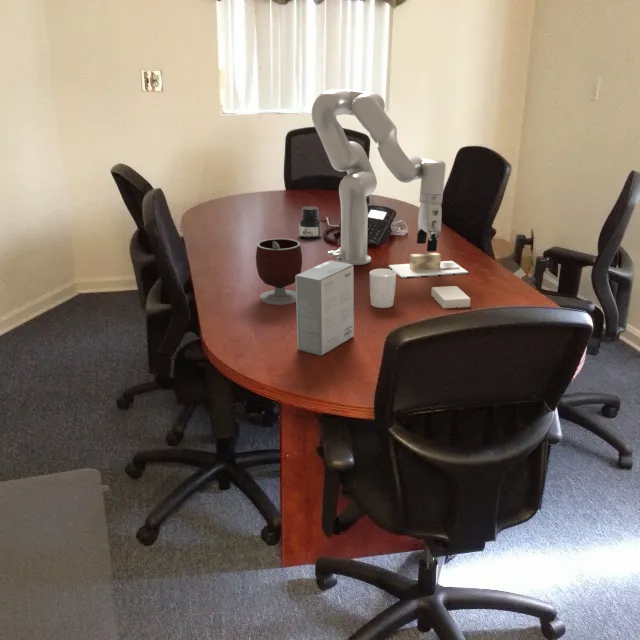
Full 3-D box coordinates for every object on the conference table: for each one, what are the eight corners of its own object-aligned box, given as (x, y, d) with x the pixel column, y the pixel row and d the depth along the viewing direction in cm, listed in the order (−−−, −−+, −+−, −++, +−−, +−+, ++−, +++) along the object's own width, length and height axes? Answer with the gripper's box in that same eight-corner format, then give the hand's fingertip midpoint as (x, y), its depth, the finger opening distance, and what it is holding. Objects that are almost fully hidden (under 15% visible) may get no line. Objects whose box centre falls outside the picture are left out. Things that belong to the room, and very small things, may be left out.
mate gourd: (262, 290, 214) (259, 228, 206) (305, 291, 212) (304, 229, 205) (252, 306, 199) (249, 240, 192) (298, 308, 198) (297, 242, 191)
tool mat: (401, 278, 224) (401, 276, 224) (388, 266, 237) (388, 265, 237) (468, 273, 229) (468, 271, 229) (452, 262, 242) (452, 260, 242)
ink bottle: (295, 238, 276) (294, 209, 272) (303, 233, 284) (303, 205, 279) (317, 240, 273) (316, 211, 268) (325, 235, 280) (325, 206, 276)
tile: (431, 296, 209) (443, 309, 198) (431, 287, 208) (444, 300, 196) (455, 295, 210) (469, 308, 199) (456, 286, 209) (470, 298, 198)
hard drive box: (330, 330, 181) (330, 259, 174) (354, 336, 177) (355, 264, 170) (296, 349, 169) (294, 274, 162) (321, 356, 165) (320, 279, 158)
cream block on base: (414, 272, 229) (414, 257, 227) (408, 267, 235) (408, 253, 233) (459, 268, 233) (460, 254, 231) (452, 264, 238) (453, 250, 236)
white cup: (367, 300, 204) (367, 268, 200) (392, 299, 205) (393, 268, 201) (371, 309, 197) (371, 276, 193) (397, 308, 197) (398, 275, 194)
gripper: (451, 203, 217) (446, 254, 224) (432, 192, 233) (427, 240, 239) (429, 203, 216) (424, 254, 222) (411, 192, 231) (407, 240, 238)
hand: (426, 247), depth 231 cm, fingers open, 9 cm apart
